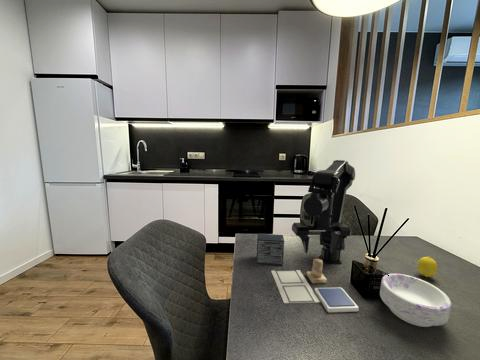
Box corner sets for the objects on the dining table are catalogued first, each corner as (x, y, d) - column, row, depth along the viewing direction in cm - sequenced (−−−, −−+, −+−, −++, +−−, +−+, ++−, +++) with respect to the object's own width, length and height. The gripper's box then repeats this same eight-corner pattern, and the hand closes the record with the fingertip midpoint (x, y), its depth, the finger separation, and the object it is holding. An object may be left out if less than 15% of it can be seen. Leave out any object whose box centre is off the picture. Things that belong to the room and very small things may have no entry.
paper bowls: (429, 346, 51) (435, 316, 50) (367, 304, 65) (370, 280, 64) (457, 324, 58) (462, 297, 57) (395, 290, 72) (398, 268, 71)
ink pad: (341, 290, 71) (341, 286, 70) (358, 311, 62) (358, 306, 61) (314, 291, 70) (314, 287, 70) (328, 312, 61) (328, 307, 61)
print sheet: (299, 270, 82) (299, 269, 81) (320, 302, 65) (320, 301, 65) (271, 271, 81) (271, 270, 81) (284, 303, 64) (284, 302, 64)
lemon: (432, 275, 82) (435, 255, 80) (438, 283, 77) (441, 262, 75) (413, 271, 84) (417, 251, 83) (418, 278, 79) (422, 258, 78)
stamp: (319, 275, 79) (321, 257, 78) (326, 283, 74) (328, 264, 73) (306, 275, 79) (308, 257, 78) (312, 284, 74) (314, 264, 73)
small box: (281, 258, 91) (283, 234, 89) (283, 266, 84) (285, 240, 83) (256, 255, 92) (257, 232, 90) (256, 264, 85) (257, 238, 84)
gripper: (336, 203, 82) (332, 242, 84) (288, 202, 80) (285, 242, 82) (354, 212, 71) (349, 256, 73) (298, 211, 69) (295, 257, 71)
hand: (318, 252), depth 75 cm, fingers open, 9 cm apart
